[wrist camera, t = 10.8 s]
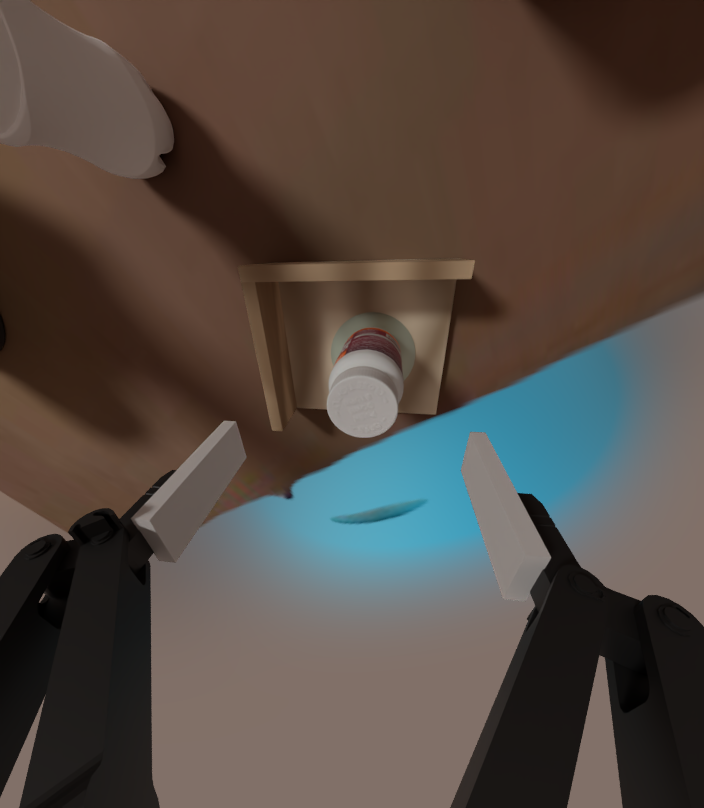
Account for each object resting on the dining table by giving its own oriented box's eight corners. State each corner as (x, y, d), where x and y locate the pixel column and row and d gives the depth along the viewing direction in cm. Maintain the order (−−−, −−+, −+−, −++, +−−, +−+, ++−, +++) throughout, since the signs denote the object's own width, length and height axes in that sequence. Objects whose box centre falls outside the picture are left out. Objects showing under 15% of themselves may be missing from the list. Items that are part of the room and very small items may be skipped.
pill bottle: (342, 324, 27) (314, 366, 18) (403, 326, 27) (409, 369, 17) (344, 379, 30) (321, 440, 21) (399, 382, 30) (401, 446, 20)
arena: (289, 404, 34) (272, 430, 29) (267, 262, 26) (237, 265, 21) (434, 411, 32) (442, 440, 27) (457, 258, 24) (474, 260, 19)
